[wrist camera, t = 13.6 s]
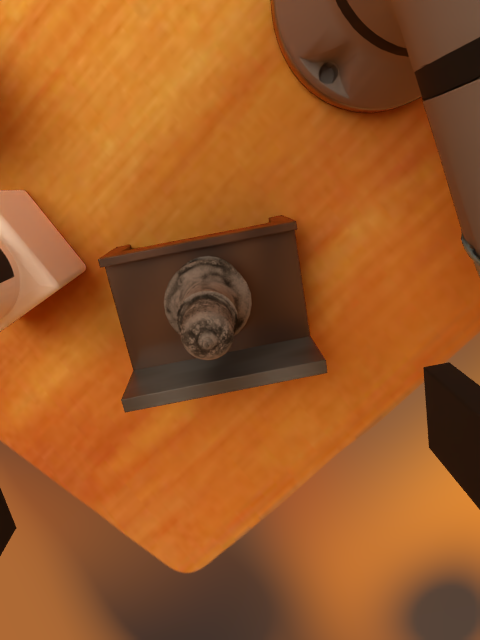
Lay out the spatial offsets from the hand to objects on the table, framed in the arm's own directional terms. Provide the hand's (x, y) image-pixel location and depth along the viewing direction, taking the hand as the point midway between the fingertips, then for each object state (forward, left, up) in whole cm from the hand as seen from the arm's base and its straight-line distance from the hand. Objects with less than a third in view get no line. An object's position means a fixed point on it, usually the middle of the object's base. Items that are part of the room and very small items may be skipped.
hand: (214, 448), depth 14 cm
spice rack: (0, +1, -26) cm, 26 cm away
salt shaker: (0, 0, -22) cm, 22 cm away
